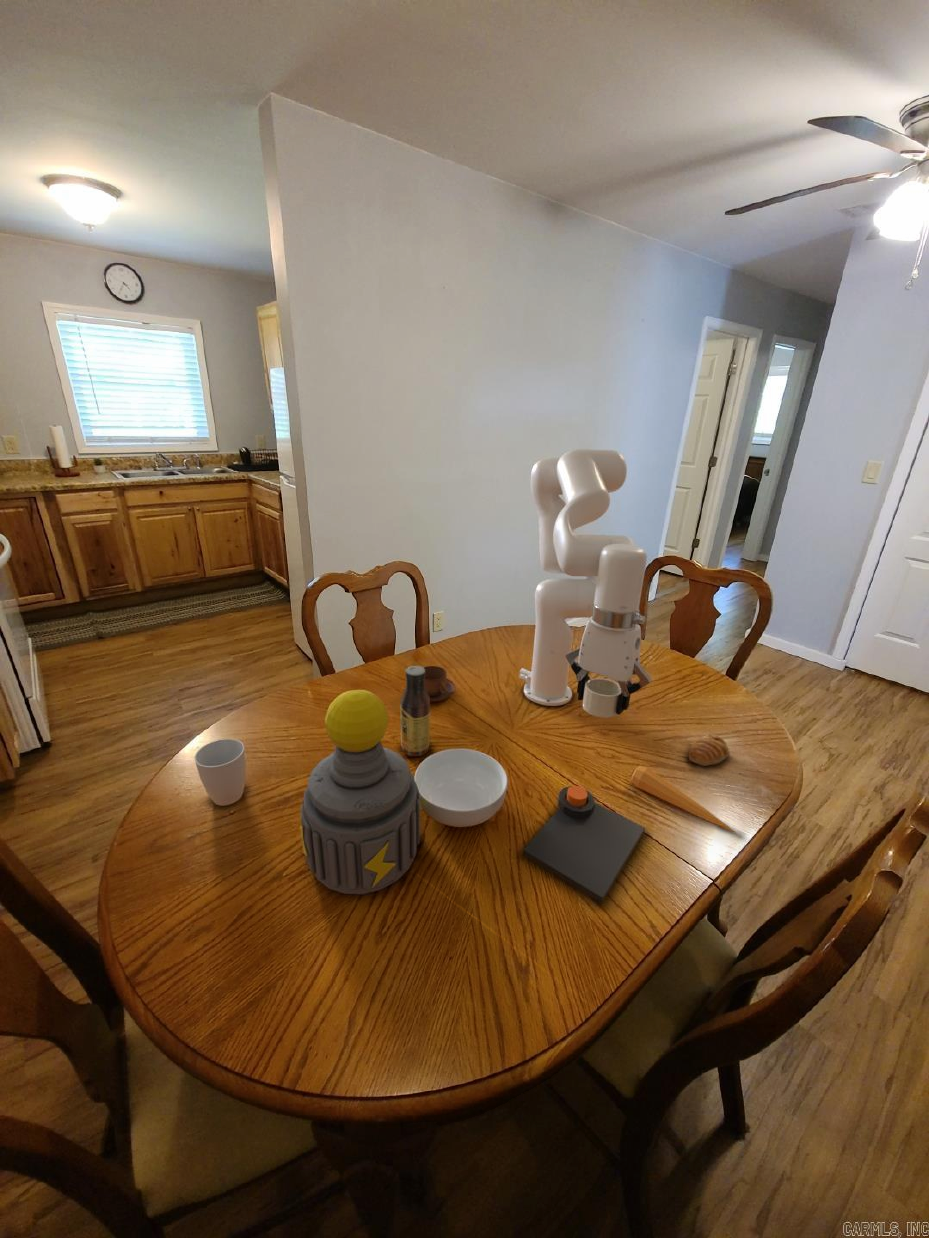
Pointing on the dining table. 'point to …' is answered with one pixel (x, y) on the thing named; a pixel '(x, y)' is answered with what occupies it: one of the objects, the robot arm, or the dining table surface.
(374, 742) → the decorative lamp
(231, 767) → the cup
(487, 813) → the cereal bowl
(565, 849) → the scale
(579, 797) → the power button
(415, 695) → the sauce bottle
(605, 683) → the small bowl
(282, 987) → the dining table surface
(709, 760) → the pastry
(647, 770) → the carrot
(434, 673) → the cup and saucer
